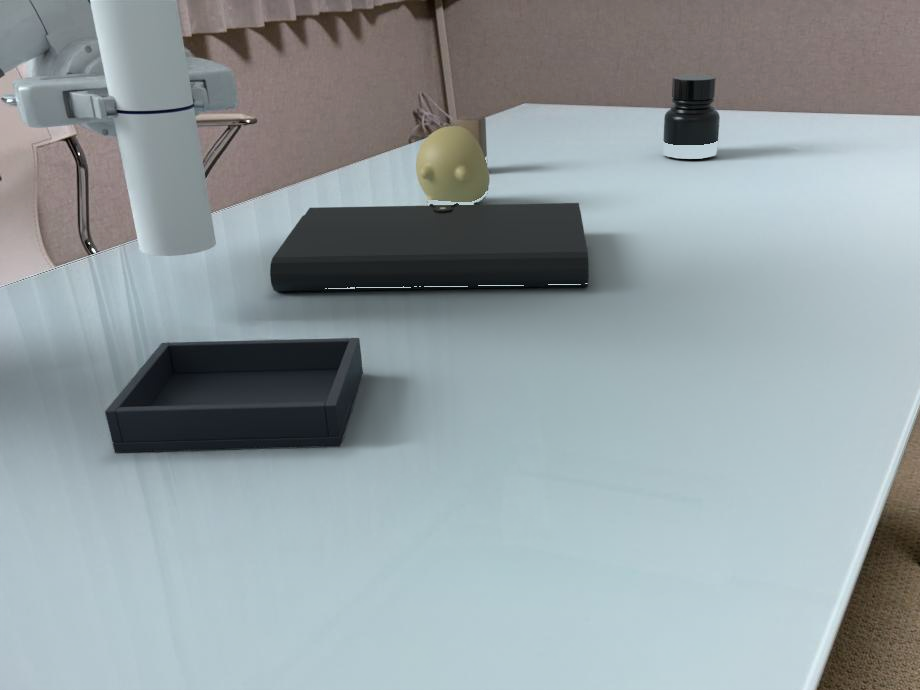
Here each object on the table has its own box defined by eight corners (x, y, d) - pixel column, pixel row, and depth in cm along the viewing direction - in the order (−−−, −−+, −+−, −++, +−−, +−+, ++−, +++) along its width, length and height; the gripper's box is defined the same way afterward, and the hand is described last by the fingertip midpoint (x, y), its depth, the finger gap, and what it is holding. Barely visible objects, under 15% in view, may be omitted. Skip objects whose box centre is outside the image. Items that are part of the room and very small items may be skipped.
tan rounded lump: (491, 235, 144) (505, 170, 147) (475, 180, 133) (490, 111, 136) (423, 230, 146) (438, 166, 149) (401, 175, 135) (418, 107, 138)
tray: (114, 452, 77) (104, 411, 75) (168, 379, 90) (161, 342, 88) (340, 446, 77) (335, 405, 76) (363, 374, 90) (359, 337, 88)
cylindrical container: (144, 259, 98) (83, -48, 85) (135, 241, 103) (77, -49, 91) (221, 250, 100) (173, -49, 88) (209, 233, 106) (163, -50, 93)
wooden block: (488, 169, 166) (486, 115, 162) (481, 174, 163) (478, 119, 159) (463, 168, 167) (461, 115, 163) (456, 173, 163) (453, 119, 159)
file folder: (578, 199, 128) (588, 255, 108) (578, 233, 130) (588, 294, 110) (309, 204, 128) (267, 260, 108) (313, 237, 130) (273, 299, 110)
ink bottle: (729, 156, 173) (735, 77, 167) (697, 164, 167) (702, 82, 161) (682, 149, 179) (686, 72, 173) (649, 156, 173) (652, 78, 167)
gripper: (-13, 61, 97) (26, 74, 88) (199, 47, 108) (255, 57, 98) (5, 133, 100) (44, 153, 91) (209, 112, 111) (264, 129, 102)
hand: (155, 103), depth 95 cm, fingers closed on cylindrical container, 7 cm apart
